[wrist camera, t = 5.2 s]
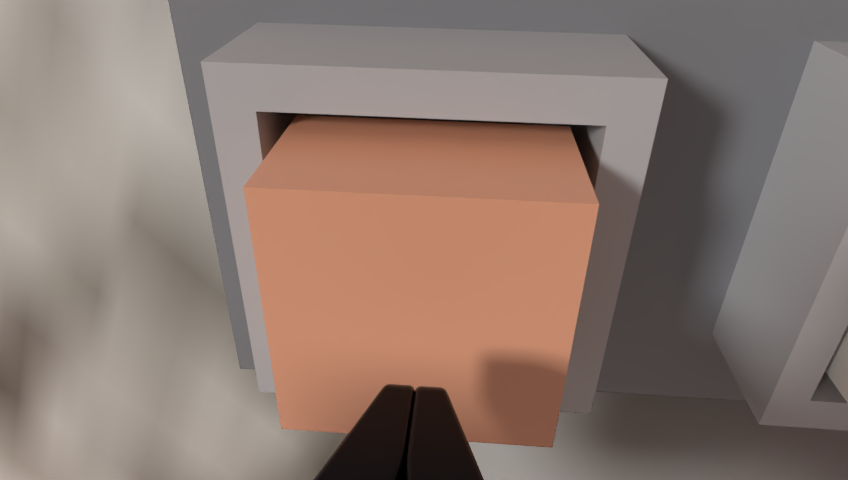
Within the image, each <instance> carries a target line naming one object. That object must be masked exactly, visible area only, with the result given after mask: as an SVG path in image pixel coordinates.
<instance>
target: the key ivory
mask: <svg viewBox="0 0 848 480" xmlns="http://www.w3.org/2000/svg"><path fill="white" fill-rule="evenodd" d="M825 372H826V373H827V375H828V376H829V378H830V379H831V380H832V382H833V383H834V385H835V386H836V387H837V389H838V390H839V392H840V393H841V395H842V396H843V397H844V399H845V400H846V402H847V403H848V326H847V328H846V330H845V332H844V334H843V336H842V338H841V340H840V342H839V344H838V346H837V348H836V350H835V352H834V354H833V356H832V358H831V360H830V362H829V364H828V366H827V368H826V370H825Z"/></svg>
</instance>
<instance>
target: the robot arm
mask: <svg viewBox="0 0 848 480" xmlns="http://www.w3.org/2000/svg"><path fill="white" fill-rule="evenodd" d="M314 480H484V479H483V477H482V475H481V472H480V470H479V467H478V465H477V463H476V460H475V458H474V455H473V453H472V451H471V448H470V446H469V443H468V441H467V439H466V436H465V434H464V431H463V429H462V427H461V424H460V422H459V419H458V417H457V415H456V412H455V410H454V407H453V405H452V403H451V400H450V398H449V395H448V393H447V391H446V390H445V389H444V388H441V387H428V386H419V387H417V388H416V390H415V389H414V387H412V386H410V385H397V384H387V385H385V386H384V387H383V388H382V389H381V391H380V392H379V393H378V395H377V396H376V397H375V399H374V400H373V401H372V403H371V404H370V405H369V407H368V408H367V409H366V411H365V412H364V413H363V415H362V416H361V417H360V419H359V420H358V421H357V423H356V424H355V425H354V427H353V428H352V429H351V431H350V432H349V433H348V435H347V436H346V437H345V439H344V440H343V441H342V443H341V444H340V445H339V447H338V448H337V449H336V451H335V452H334V453H333V455H332V456H331V457H330V459H329V460H328V461H327V463H326V464H325V465H324V467H323V468H322V469H321V471H320V472H319V473H318V475H317V476H316V477H315V479H314Z"/></svg>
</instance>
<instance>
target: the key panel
mask: <svg viewBox="0 0 848 480" xmlns="http://www.w3.org/2000/svg"><path fill="white" fill-rule="evenodd" d="M168 1H169V7H170V12H171V17H172V22H173V27H174V32H175V37H176V42H177V48H178V53H179V58H180V63H181V68H182V73H183V78H184V83H185V88H186V94H187V99H188V104H189V109H190V114H191V119H192V124H193V129H194V135H195V140H196V145H197V150H198V155H199V160H200V165H201V170H202V176H203V181H204V186H205V191H206V196H207V201H208V206H209V211H210V216H211V222H212V227H213V232H214V237H215V242H216V247H217V252H218V257H219V263H220V268H221V273H222V278H223V283H224V288H225V293H226V298H227V304H228V309H229V314H230V319H231V324H232V329H233V334H234V339H235V344H236V350H237V355H238V360H239V365H240V368H241V369H255V370H256V376H257V382H258V387H259V392H272V393H276V391H275V385H274V378H273V372H272V366H271V359H270V353H269V347H268V340H267V334H266V328H265V321H264V315H263V309H262V302H261V296H260V290H259V283H258V277H257V271H256V264H255V258H254V252H253V245H252V239H251V233H250V226H249V220H248V214H247V207H246V201H245V195H244V188H243V187H244V186H245V184H246V183H247V182H248V180H249V179H250V177H251V176H252V175H253V173H254V172H255V171H256V169H257V168H258V167H259V165H260V164H261V163H262V161H263V160H264V159H265V157H266V156H267V155H268V153H269V152H270V150H271V149H272V148H273V146H274V145H275V144H276V142H277V141H278V140H279V138H280V137H281V136H282V134H283V133H284V132H285V130H286V129H287V127H288V126H289V125H290V123H291V122H292V121H293V119H294V118H295V117H296V115H310V116H334V117H358V118H383V119H407V120H431V121H455V122H479V123H504V124H528V125H552V126H570V128H571V131H572V133H573V136H574V139H575V141H576V144H577V147H578V149H579V152H580V155H581V157H582V160H583V162H584V165H585V168H586V170H587V173H588V176H589V178H590V181H591V184H592V186H593V189H594V192H595V194H596V197H597V200H598V202H599V208H598V214H597V219H596V224H595V229H594V234H593V240H592V245H591V250H590V255H589V260H588V266H587V271H586V276H585V281H584V286H583V292H582V297H581V302H580V307H579V312H578V318H577V323H576V328H575V333H574V338H573V343H572V349H571V354H570V359H569V364H568V369H567V375H566V380H565V385H564V390H563V395H562V401H561V406H560V411H559V412H574V413H589V414H590V413H591V409H592V405H593V400H594V396H595V392H596V391H598V392H613V393H629V394H644V395H660V396H675V397H691V398H706V399H722V400H737V401H747V403H748V405H749V407H750V409H751V411H752V413H753V415H754V416H755V418H756V420H757V422H758V424H759V425H769V426H784V427H800V428H815V429H830V430H845V431H848V403H847V402H846V400H845V399H844V397H843V396H842V395H841V393H840V392H839V390H838V389H837V387H836V386H835V385H834V383H833V382H832V380H831V379H830V378H829V376H828V375H827V373H826V372H825V370H826V368H827V366H828V364H829V362H830V360H831V358H832V356H833V354H834V352H835V350H836V348H837V346H838V344H839V342H840V340H841V338H842V336H843V334H844V332H845V330H846V328H847V326H848V0H168Z"/></svg>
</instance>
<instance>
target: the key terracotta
mask: <svg viewBox="0 0 848 480" xmlns="http://www.w3.org/2000/svg"><path fill="white" fill-rule="evenodd" d="M243 188H244V195H245V201H246V207H247V214H248V220H249V226H250V233H251V239H252V245H253V252H254V258H255V264H256V271H257V277H258V283H259V290H260V296H261V302H262V309H263V315H264V321H265V328H266V334H267V340H268V347H269V353H270V359H271V366H272V372H273V378H274V385H275V391H276V397H277V404H278V410H279V417H280V423H281V429H294V430H308V431H323V432H337V433H349V432H350V431H351V429H352V428H353V427H354V425H355V424H356V423H357V421H358V420H359V419H360V417H361V416H362V415H363V413H364V412H365V411H366V409H367V408H368V407H369V405H370V404H371V403H372V401H373V400H374V399H375V397H376V396H377V395H378V393H379V392H380V391H381V389H382V388H383V387H384V386H385V385H387V384H397V385H410V386H412V387H414V389H415V390H416V388H417V387H419V386H428V387H441V388H444V389H445V390H446V391H447V393H448V395H449V398H450V400H451V403H452V405H453V407H454V410H455V412H456V415H457V417H458V419H459V422H460V424H461V427H462V429H463V431H464V434H465V436H466V439H467V441H468V442H481V443H495V444H509V445H524V446H538V447H553V442H554V437H555V432H556V427H557V421H558V416H559V411H560V406H561V401H562V395H563V390H564V385H565V380H566V375H567V369H568V364H569V359H570V354H571V349H572V343H573V338H574V333H575V328H576V323H577V318H578V312H579V307H580V302H581V297H582V292H583V286H584V281H585V276H586V271H587V266H588V260H589V255H590V250H591V245H592V240H593V234H594V229H595V224H596V219H597V214H598V208H599V202H598V200H597V197H596V194H595V192H594V189H593V186H592V184H591V181H590V178H589V176H588V173H587V170H586V168H585V165H584V162H583V160H582V157H581V155H580V152H579V149H578V147H577V144H576V141H575V139H574V136H573V133H572V131H571V128H570V126H552V125H528V124H504V123H479V122H455V121H431V120H407V119H383V118H358V117H334V116H310V115H296V117H295V118H294V119H293V121H292V122H291V123H290V125H289V126H288V127H287V129H286V130H285V132H284V133H283V134H282V136H281V137H280V138H279V140H278V141H277V142H276V144H275V145H274V146H273V148H272V149H271V150H270V152H269V153H268V155H267V156H266V157H265V159H264V160H263V161H262V163H261V164H260V165H259V167H258V168H257V169H256V171H255V172H254V173H253V175H252V176H251V177H250V179H249V180H248V182H247V183H246V184H245V186H244V187H243Z"/></svg>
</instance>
